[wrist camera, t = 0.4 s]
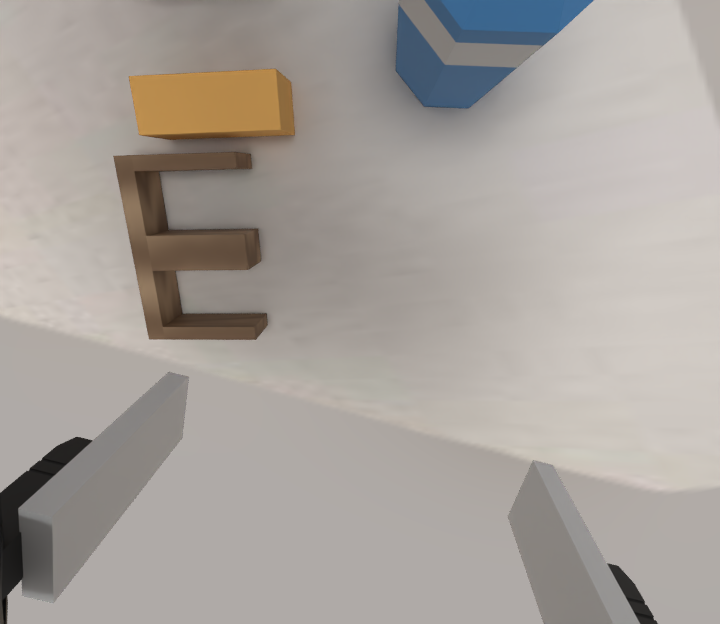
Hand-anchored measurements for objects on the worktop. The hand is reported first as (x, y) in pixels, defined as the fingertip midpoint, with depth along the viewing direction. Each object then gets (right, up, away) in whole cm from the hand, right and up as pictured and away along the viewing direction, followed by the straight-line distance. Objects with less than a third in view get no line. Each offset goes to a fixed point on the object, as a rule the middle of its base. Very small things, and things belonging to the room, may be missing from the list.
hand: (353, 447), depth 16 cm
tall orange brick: (-11, +22, +20) cm, 32 cm away
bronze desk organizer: (-14, +11, +24) cm, 30 cm away
